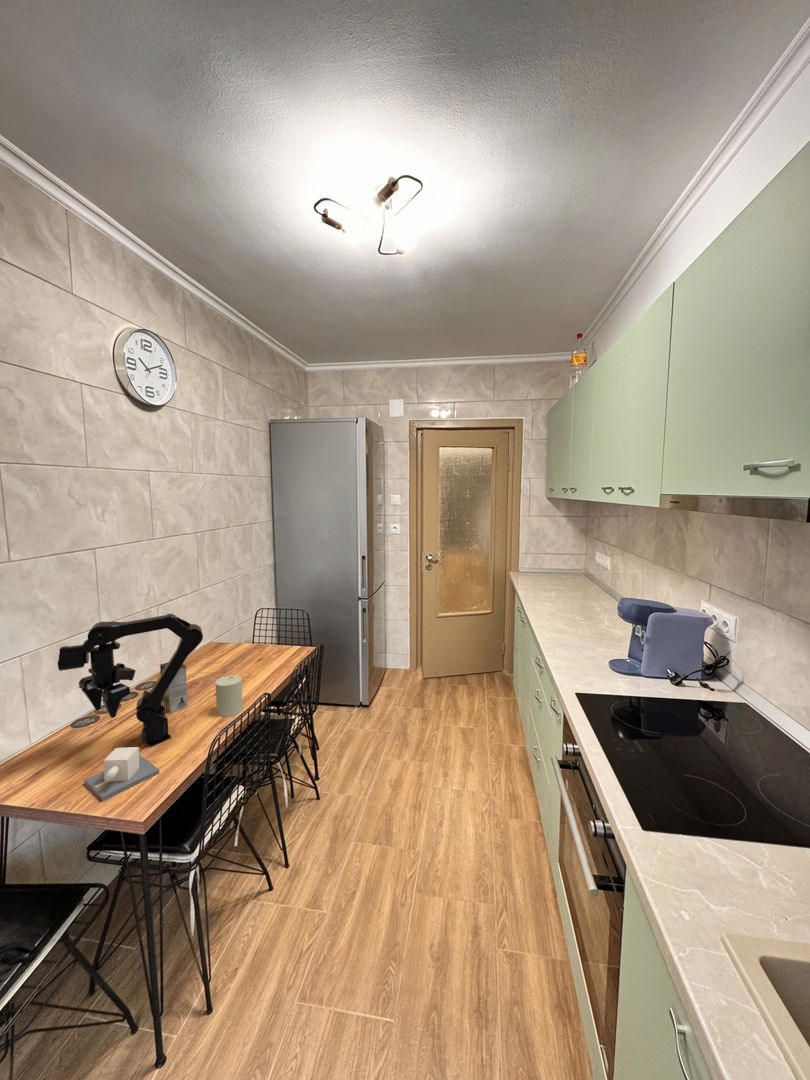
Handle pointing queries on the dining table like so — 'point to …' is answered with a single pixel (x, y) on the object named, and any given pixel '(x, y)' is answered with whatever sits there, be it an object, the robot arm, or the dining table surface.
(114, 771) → the cream rectangular block
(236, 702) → the can
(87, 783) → the grey slotted slab
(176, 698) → the coffee box
